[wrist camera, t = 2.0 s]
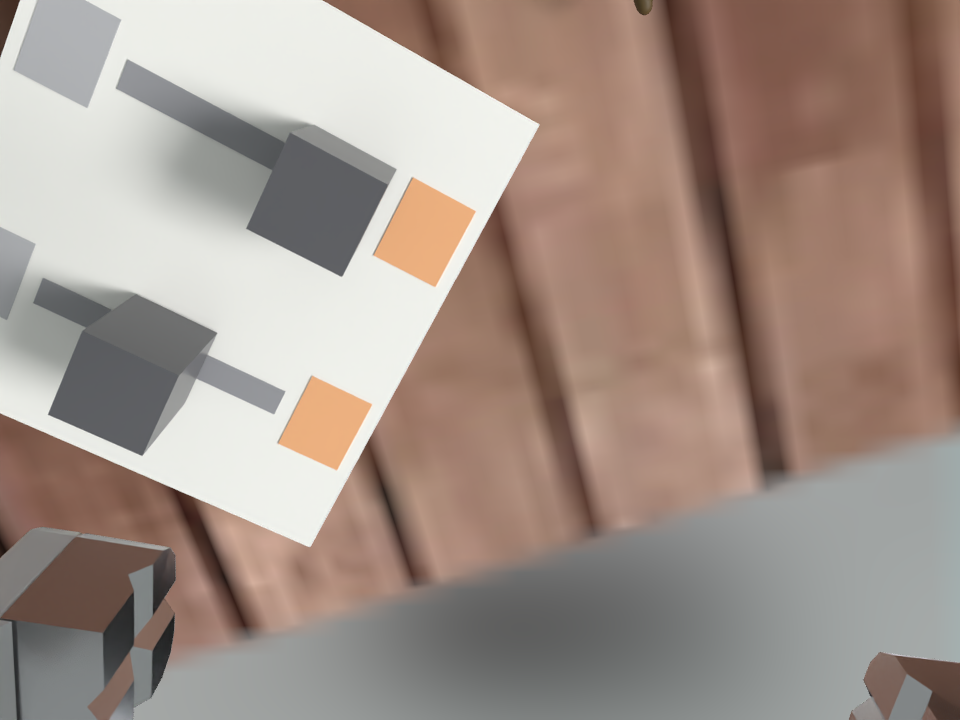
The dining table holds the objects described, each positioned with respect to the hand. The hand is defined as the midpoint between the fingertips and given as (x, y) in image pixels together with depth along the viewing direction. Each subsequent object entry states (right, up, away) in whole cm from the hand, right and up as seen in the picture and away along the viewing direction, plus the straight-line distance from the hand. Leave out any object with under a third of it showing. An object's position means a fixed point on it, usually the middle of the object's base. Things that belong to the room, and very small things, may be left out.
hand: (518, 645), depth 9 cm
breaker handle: (-5, +9, +18) cm, 21 cm away
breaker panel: (-10, +8, +21) cm, 25 cm away
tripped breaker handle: (-12, +4, +19) cm, 23 cm away
